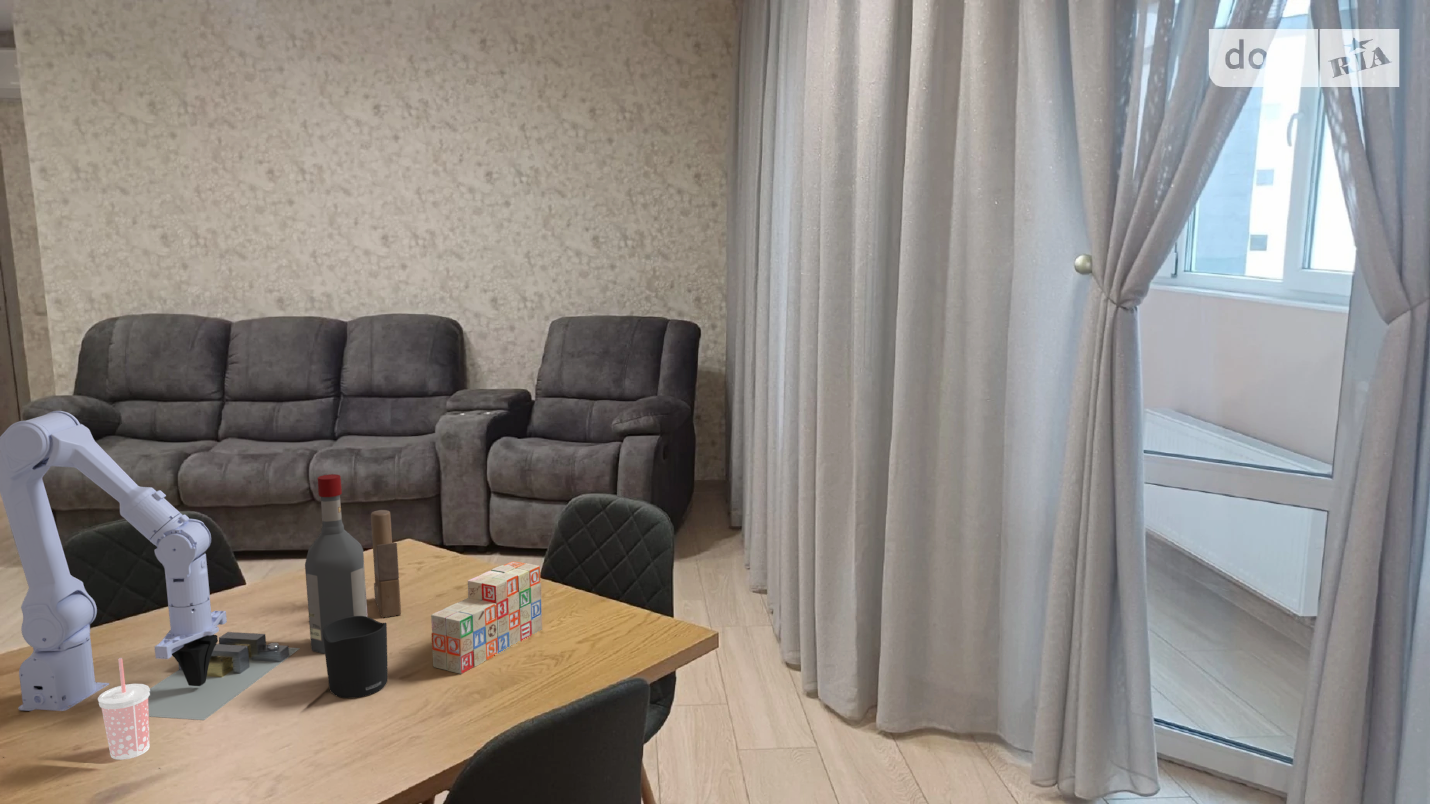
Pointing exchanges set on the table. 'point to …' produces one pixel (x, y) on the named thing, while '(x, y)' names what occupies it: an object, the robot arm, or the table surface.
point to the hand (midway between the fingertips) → (197, 684)
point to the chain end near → (233, 656)
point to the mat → (203, 692)
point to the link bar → (223, 664)
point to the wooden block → (385, 565)
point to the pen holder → (356, 656)
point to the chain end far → (257, 646)
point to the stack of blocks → (488, 617)
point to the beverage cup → (126, 718)
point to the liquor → (333, 567)
